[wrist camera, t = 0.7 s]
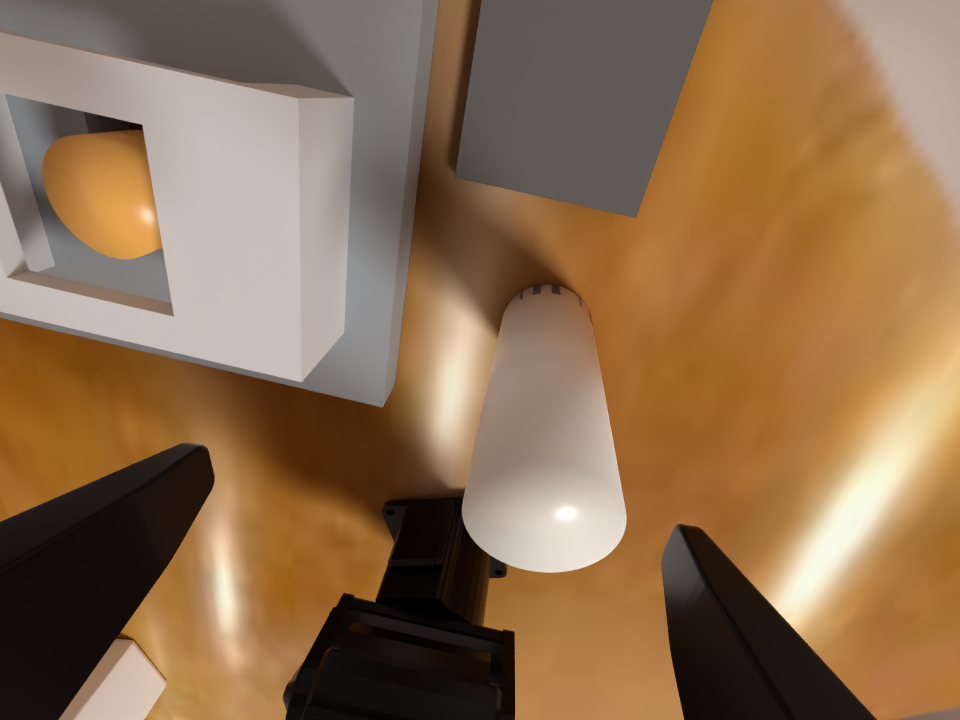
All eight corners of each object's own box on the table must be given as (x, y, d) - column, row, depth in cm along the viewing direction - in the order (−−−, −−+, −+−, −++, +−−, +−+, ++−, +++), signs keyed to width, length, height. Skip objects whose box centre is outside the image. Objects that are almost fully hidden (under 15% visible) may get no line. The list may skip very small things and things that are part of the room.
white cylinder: (595, 360, 21) (629, 571, 12) (509, 369, 22) (478, 573, 13) (587, 278, 20) (621, 451, 10) (494, 291, 20) (445, 462, 11)
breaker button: (211, 250, 19) (168, 270, 17) (116, 228, 19) (60, 245, 17) (200, 143, 17) (148, 150, 15) (93, 118, 17) (26, 122, 15)
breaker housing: (394, 384, 24) (351, 466, 18) (34, 300, 24) (-107, 357, 19) (439, -10, 15) (384, -61, 10) (-107, -128, 16) (-425, -235, 11)
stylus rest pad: (633, 214, 18) (635, 217, 18) (457, 174, 18) (454, 176, 18) (712, -11, 15) (718, -15, 14) (493, -58, 15) (491, -63, 14)
